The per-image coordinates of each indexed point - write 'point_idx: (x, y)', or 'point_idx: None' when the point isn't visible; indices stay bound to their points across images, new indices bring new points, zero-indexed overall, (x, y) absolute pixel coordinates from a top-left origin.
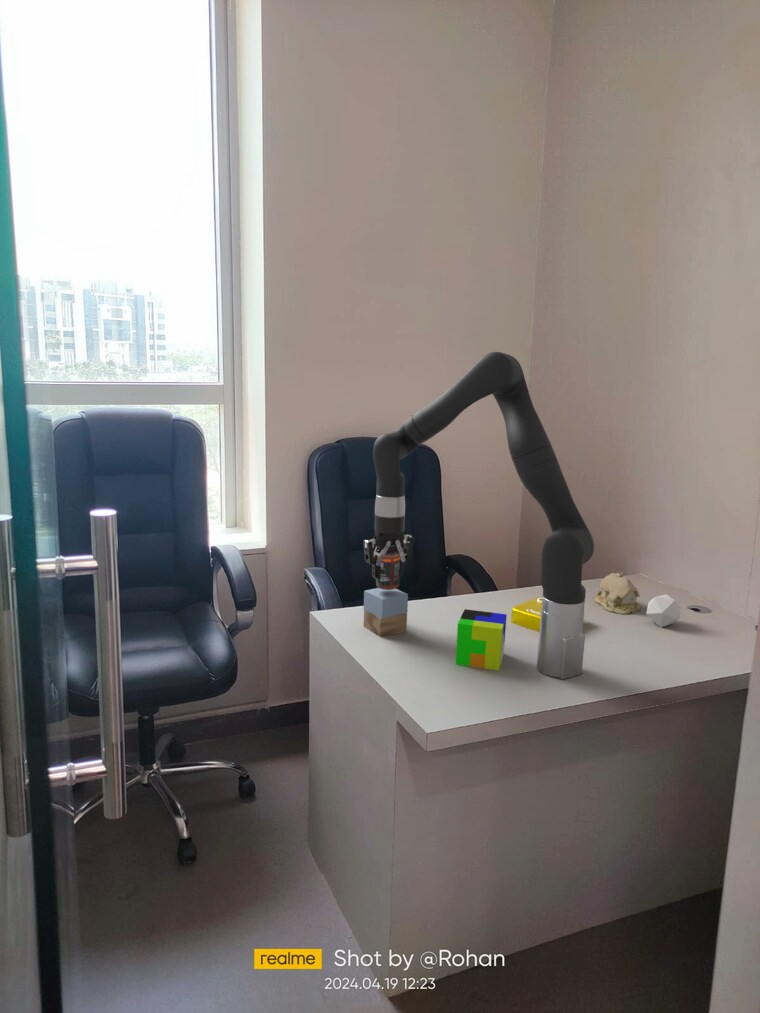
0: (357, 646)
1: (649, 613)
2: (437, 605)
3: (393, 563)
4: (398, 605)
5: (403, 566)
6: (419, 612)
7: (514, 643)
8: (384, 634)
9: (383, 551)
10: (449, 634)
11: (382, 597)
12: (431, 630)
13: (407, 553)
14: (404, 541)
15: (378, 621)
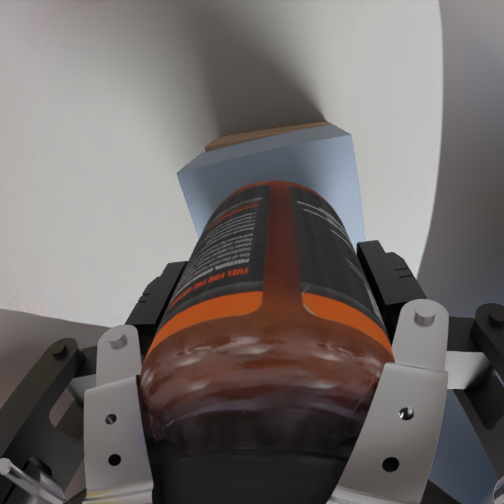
0: (420, 84)
1: None
2: (82, 289)
3: (262, 275)
4: (243, 148)
5: (136, 310)
6: (132, 264)
7: (6, 26)
8: (308, 123)
9: (424, 434)
10: (103, 84)
11: (334, 168)
12: (139, 124)
13: (60, 382)
14: (50, 497)
15: None
